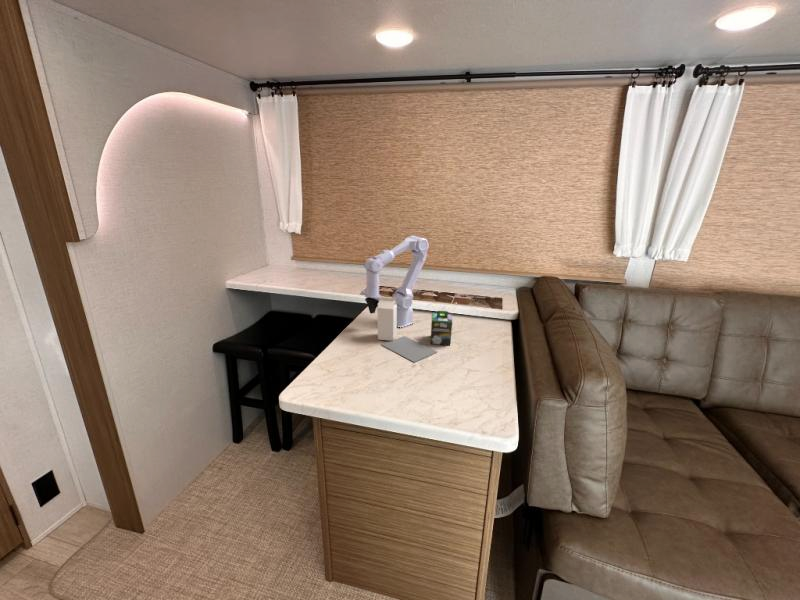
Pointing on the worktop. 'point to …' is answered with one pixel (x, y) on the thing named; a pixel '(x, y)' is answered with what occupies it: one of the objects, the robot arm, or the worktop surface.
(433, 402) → the worktop surface
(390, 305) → the cream plain cuboid
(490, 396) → the worktop surface
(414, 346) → the mat
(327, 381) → the worktop surface
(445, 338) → the chalk box
